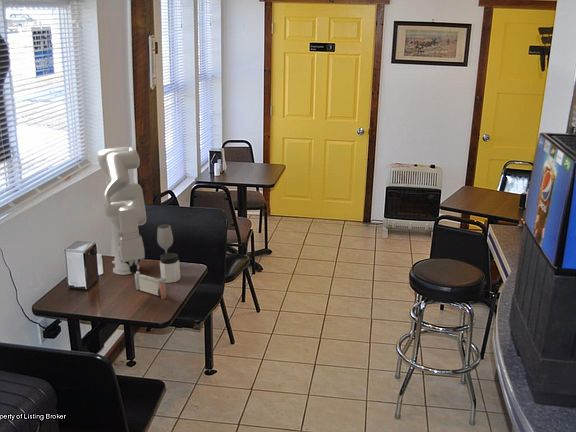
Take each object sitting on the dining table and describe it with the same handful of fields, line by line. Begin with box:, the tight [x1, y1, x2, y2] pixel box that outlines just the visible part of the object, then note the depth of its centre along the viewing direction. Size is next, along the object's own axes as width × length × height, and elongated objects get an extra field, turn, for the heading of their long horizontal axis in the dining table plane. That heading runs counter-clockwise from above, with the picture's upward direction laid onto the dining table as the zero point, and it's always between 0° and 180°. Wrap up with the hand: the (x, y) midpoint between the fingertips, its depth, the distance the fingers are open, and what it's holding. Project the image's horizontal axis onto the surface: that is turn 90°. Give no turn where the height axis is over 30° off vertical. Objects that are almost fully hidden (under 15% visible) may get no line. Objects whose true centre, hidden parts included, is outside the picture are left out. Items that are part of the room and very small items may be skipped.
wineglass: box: [156, 224, 174, 253], centre depth 311 cm, size 8×8×21 cm
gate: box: [134, 270, 161, 297], centre depth 284 cm, size 16×3×8 cm, turn 57°
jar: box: [159, 252, 181, 284], centre depth 297 cm, size 9×8×12 cm
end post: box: [157, 277, 168, 300], centre depth 278 cm, size 3×3×9 cm
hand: (133, 272), depth 279 cm, fingers closed
